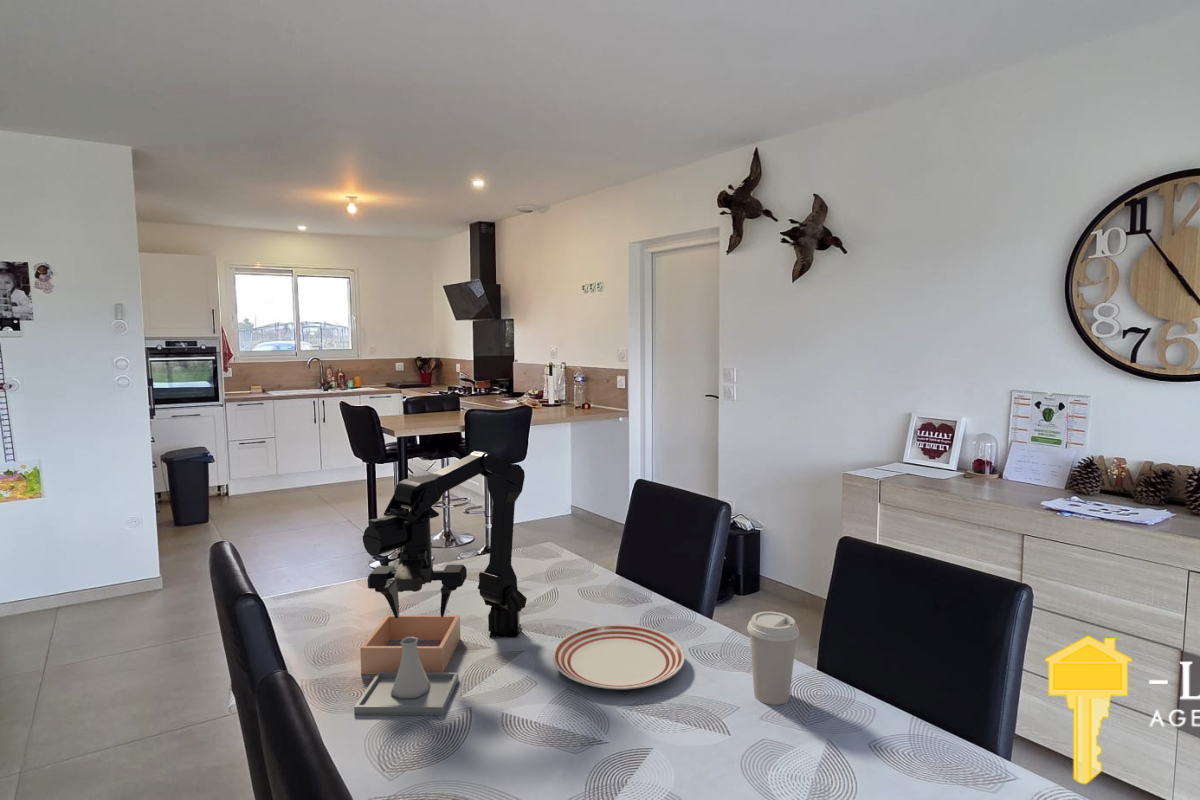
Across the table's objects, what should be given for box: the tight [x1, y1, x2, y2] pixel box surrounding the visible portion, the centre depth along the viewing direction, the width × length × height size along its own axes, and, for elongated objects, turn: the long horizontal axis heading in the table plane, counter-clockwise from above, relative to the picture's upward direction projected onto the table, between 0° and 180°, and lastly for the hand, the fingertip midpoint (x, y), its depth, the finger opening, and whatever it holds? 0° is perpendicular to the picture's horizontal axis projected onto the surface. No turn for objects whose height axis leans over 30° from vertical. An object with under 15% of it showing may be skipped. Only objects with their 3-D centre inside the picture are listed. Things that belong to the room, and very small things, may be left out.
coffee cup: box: [746, 611, 800, 706], centre depth 130 cm, size 10×10×15 cm
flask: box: [390, 637, 430, 699], centre depth 131 cm, size 7×7×10 cm
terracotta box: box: [359, 614, 461, 675], centre depth 147 cm, size 17×17×6 cm
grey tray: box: [353, 672, 459, 716], centre depth 131 cm, size 16×13×2 cm
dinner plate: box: [551, 623, 686, 690], centre depth 143 cm, size 27×27×3 cm
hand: (419, 617), depth 140 cm, fingers open, 9 cm apart
